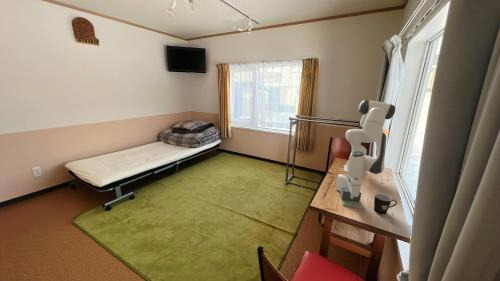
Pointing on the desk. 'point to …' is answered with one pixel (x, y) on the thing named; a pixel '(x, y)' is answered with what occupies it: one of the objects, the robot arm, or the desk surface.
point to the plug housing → (346, 195)
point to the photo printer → (341, 182)
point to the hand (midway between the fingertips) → (350, 195)
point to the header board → (350, 203)
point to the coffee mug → (382, 203)
